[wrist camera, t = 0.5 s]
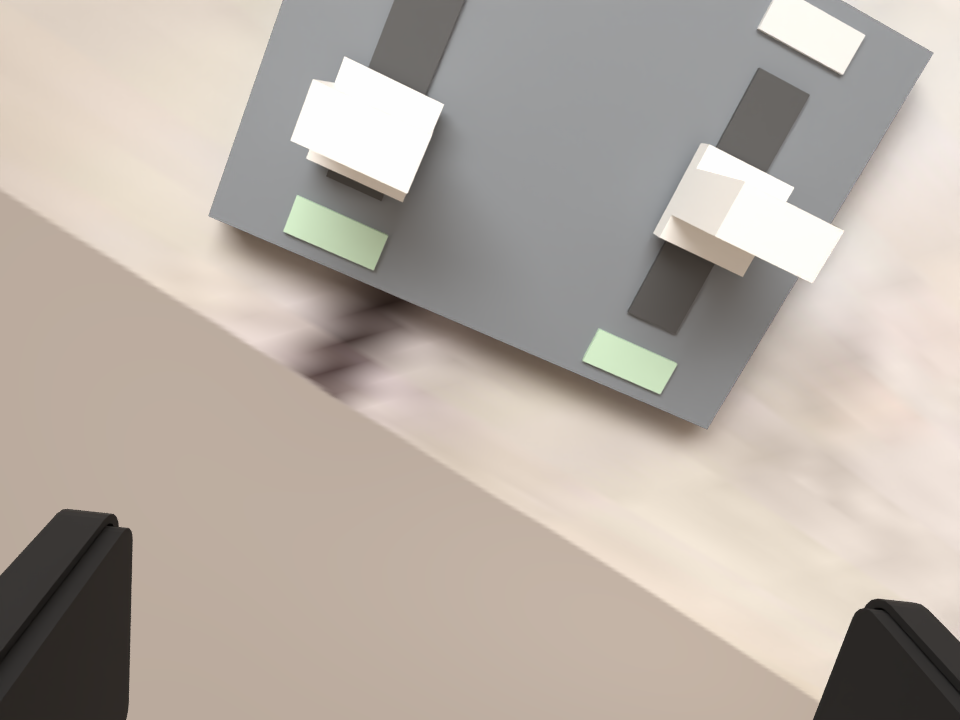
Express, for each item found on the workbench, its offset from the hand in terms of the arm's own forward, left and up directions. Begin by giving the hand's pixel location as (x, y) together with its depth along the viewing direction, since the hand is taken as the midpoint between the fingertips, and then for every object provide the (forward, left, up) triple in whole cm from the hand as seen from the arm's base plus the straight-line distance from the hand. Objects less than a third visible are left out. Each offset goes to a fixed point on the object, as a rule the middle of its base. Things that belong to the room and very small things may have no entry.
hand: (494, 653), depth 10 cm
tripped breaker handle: (-9, -7, -23) cm, 26 cm away
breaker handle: (+5, -4, -23) cm, 24 cm away
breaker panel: (-2, -7, -26) cm, 26 cm away
